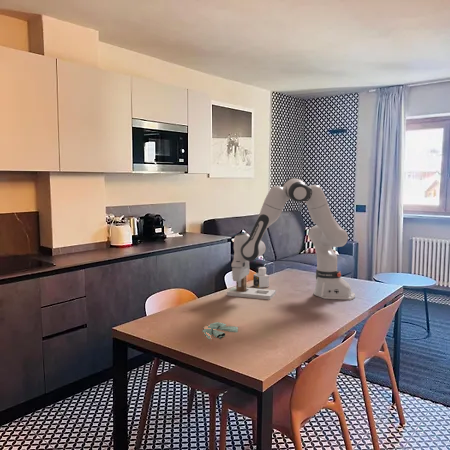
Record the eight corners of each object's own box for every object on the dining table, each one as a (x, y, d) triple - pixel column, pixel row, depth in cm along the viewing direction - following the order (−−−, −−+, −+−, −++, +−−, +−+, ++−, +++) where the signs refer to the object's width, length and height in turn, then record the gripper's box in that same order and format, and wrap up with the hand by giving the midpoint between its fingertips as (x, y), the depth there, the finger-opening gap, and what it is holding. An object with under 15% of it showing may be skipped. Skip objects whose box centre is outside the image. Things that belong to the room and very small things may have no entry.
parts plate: (275, 293, 240) (275, 290, 240) (270, 299, 228) (270, 296, 228) (234, 289, 249) (234, 286, 249) (226, 295, 237) (226, 292, 237)
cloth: (216, 321, 195) (216, 316, 195) (255, 332, 181) (255, 327, 181) (185, 334, 179) (185, 328, 179) (225, 347, 166) (225, 341, 165)
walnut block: (246, 290, 242) (246, 276, 241) (243, 292, 238) (243, 278, 237) (238, 289, 243) (238, 275, 243) (236, 291, 239) (236, 277, 238)
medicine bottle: (253, 285, 259) (253, 266, 258) (263, 284, 262) (263, 265, 261) (258, 288, 253) (258, 268, 251) (269, 286, 256) (269, 267, 254)
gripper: (241, 258, 250) (241, 280, 251) (230, 264, 231) (230, 289, 232) (252, 258, 247) (252, 281, 249) (241, 265, 228) (241, 290, 230)
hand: (241, 285), depth 240 cm, fingers closed on walnut block, 4 cm apart
